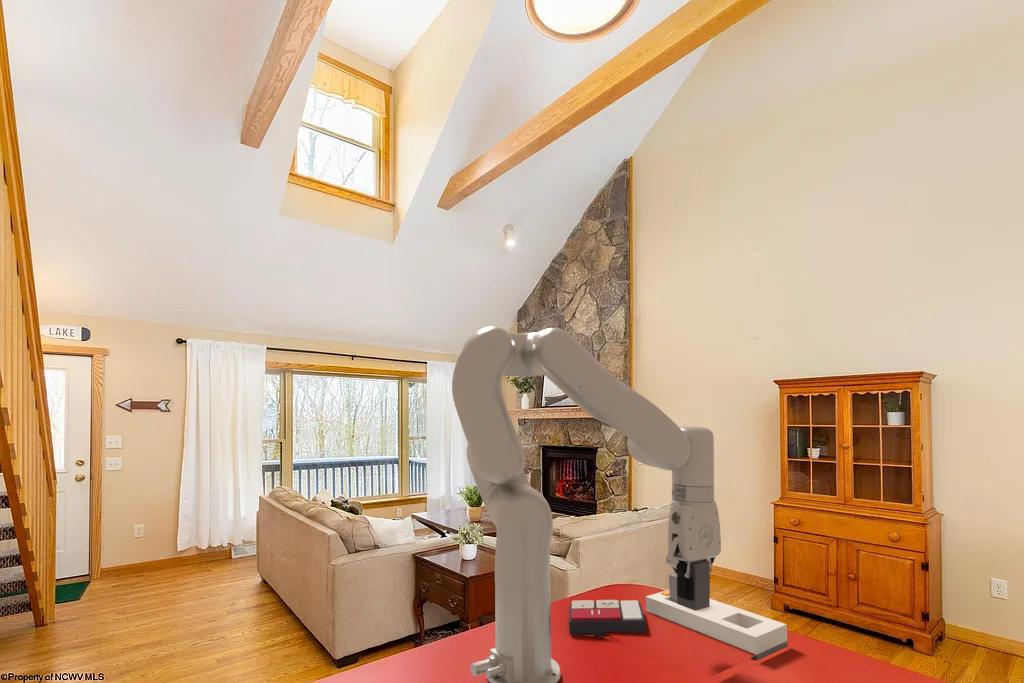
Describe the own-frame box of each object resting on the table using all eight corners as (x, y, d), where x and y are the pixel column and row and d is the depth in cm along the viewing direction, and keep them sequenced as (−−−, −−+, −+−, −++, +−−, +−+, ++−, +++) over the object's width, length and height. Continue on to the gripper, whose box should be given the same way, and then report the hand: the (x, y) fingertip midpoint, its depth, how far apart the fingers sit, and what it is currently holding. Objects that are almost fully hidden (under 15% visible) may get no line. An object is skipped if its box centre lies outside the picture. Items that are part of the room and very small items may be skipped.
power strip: (756, 660, 105) (755, 635, 105) (646, 615, 126) (645, 595, 126) (787, 646, 110) (786, 622, 111) (676, 605, 132) (676, 585, 132)
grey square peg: (685, 619, 121) (684, 579, 122) (670, 613, 124) (668, 574, 125) (697, 615, 123) (696, 575, 124) (682, 609, 127) (681, 571, 127)
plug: (695, 610, 104) (695, 564, 105) (677, 603, 108) (677, 559, 108) (709, 606, 107) (709, 561, 107) (691, 600, 110) (691, 556, 110)
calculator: (569, 598, 127) (639, 597, 126) (570, 619, 127) (641, 618, 125) (568, 617, 117) (645, 616, 115) (569, 640, 116) (646, 639, 114)
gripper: (679, 501, 101) (680, 611, 99) (737, 493, 110) (739, 594, 109) (646, 494, 107) (646, 598, 105) (704, 488, 117) (705, 583, 115)
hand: (693, 595), depth 107 cm, fingers closed on plug, 4 cm apart
